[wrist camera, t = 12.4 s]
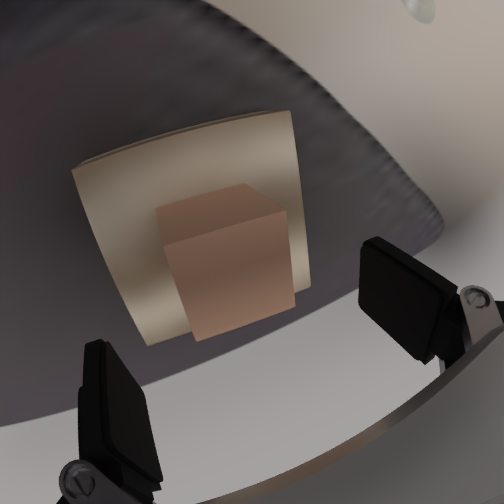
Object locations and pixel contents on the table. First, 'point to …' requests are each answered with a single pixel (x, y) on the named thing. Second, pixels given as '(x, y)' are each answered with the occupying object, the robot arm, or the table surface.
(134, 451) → the robot arm
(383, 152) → the table surface
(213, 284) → the terracotta cube
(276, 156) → the birch block
